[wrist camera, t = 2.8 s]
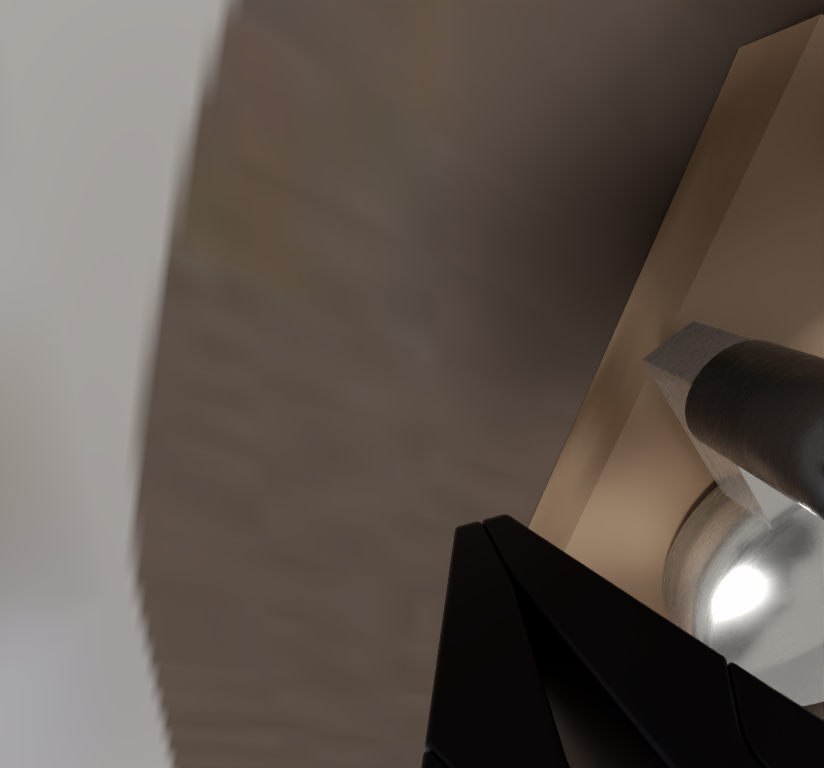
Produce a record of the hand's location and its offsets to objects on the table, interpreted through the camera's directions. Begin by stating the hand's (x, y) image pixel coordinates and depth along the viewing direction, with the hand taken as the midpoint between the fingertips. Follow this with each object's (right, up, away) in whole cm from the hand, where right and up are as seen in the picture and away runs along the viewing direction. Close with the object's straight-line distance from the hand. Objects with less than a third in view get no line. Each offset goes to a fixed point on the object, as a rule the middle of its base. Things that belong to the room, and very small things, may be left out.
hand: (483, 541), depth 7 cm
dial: (+9, -1, +6) cm, 10 cm away
